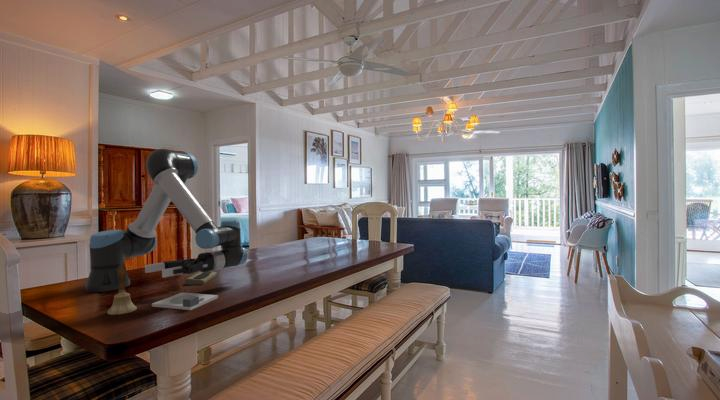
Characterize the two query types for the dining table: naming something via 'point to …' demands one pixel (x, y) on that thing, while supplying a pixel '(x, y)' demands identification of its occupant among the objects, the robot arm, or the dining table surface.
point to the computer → (200, 278)
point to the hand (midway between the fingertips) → (153, 271)
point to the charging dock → (180, 306)
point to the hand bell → (121, 295)
